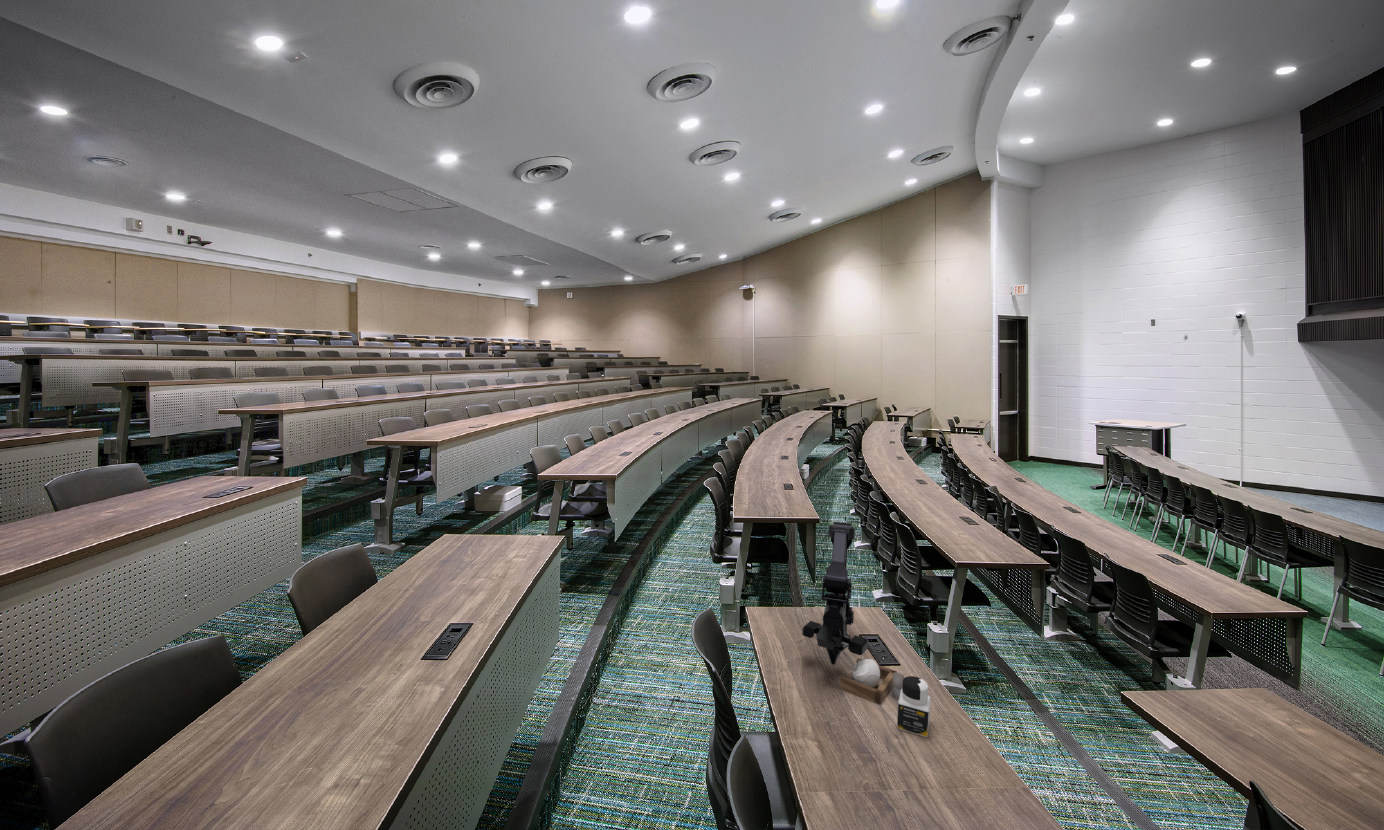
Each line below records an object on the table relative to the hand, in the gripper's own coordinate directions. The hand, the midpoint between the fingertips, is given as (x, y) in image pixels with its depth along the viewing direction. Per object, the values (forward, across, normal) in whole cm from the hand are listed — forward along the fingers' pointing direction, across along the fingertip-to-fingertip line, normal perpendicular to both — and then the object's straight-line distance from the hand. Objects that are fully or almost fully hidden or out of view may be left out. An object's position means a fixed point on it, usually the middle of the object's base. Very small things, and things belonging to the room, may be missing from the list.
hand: (833, 664), depth 159 cm
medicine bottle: (+2, +26, -10) cm, 28 cm away
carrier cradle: (+2, +13, 0) cm, 13 cm away
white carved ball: (+2, +10, -1) cm, 10 cm away
